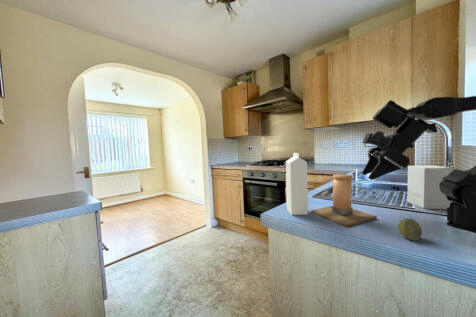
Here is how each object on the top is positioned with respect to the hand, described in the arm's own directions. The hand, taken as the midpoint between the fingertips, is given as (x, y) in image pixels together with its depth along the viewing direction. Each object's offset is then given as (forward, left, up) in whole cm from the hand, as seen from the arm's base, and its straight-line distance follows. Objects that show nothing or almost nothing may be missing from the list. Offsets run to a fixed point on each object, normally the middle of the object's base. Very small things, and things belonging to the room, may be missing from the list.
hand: (366, 176), depth 61 cm
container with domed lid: (+5, +5, -11) cm, 13 cm away
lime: (-14, +4, -14) cm, 20 cm away
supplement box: (-3, -31, -14) cm, 34 cm away
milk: (+15, +16, -14) cm, 26 cm away
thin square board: (+5, +5, -14) cm, 15 cm away
